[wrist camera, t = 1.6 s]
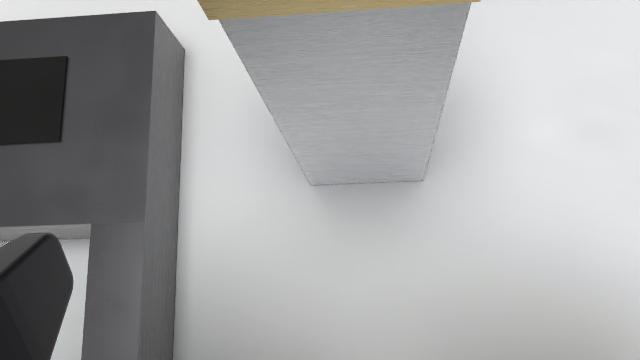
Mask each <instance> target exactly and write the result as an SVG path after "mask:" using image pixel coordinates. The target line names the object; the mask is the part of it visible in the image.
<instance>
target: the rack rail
mask: <svg viewBox="0 0 640 360" xmlns="http://www.w3.org/2000/svg"><path fill="white" fill-rule="evenodd" d="M184 50H185V49H184V48H183V47H182V45H181V44H180V43H179V41H178V40H177V39H176V37H175V36H174V35H173V33H172V32H171V31H170V29H169V28H168V27H167V25H166V24H165V23H164V21H163V20H162V19H161V17H160V16H159V15H158V13H157V12H156V11H146V12H132V13H118V14H104V15H90V16H75V17H61V18H47V19H33V20H19V21H5V22H0V241H13V240H15V239H16V238H18V237H20V236H22V235H24V234H28V233H52V234H54V235H55V236H56V237H57V238H58V239H76V238H90V247H89V261H88V275H87V289H86V303H85V317H84V330H83V344H82V358H81V360H173V334H174V309H175V283H176V257H177V231H178V205H179V179H180V154H181V128H182V102H183V76H184Z"/></svg>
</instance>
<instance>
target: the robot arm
mask: <svg viewBox="0 0 640 360" xmlns="http://www.w3.org/2000/svg"><path fill="white" fill-rule="evenodd" d="M72 290H73V275H72V272H71V269H70V267H69V264H68V262H67V259H66V257H65V254H64V252H63V249H62V247H61V244H60V242H59V240H58V238H57V237H56V236H55V235H54V234H52V233H28V234H24V235H22V236H20V237H18V238H16V239H15V240H13V241H11V242H9V243H8V244H6V245H4V246H2V247H0V360H50V359H51V356H52V352H53V349H54V346H55V343H56V340H57V337H58V334H59V331H60V328H61V324H62V321H63V318H64V315H65V312H66V309H67V306H68V303H69V300H70V297H71V293H72Z"/></svg>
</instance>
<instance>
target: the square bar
mask: <svg viewBox="0 0 640 360" xmlns="http://www.w3.org/2000/svg"><path fill="white" fill-rule="evenodd" d="M197 1H198V2H199V4H200V6H201V7H202V9H203V11H204V13H205V14H206V16H207V18H208V19H209V20H217V19H218V20H219V22H220V23H221V25H222V27H223V29H224V31H225V32H226V34H227V36H228V38H229V40H230V41H231V43H232V45H233V47H234V48H235V50H236V52H237V54H238V56H239V57H240V59H241V61H242V63H243V65H244V66H245V68H246V70H247V72H248V74H249V75H250V77H251V79H252V81H253V83H254V84H255V86H256V88H257V90H258V92H259V93H260V95H261V97H262V99H263V101H264V102H265V104H266V106H267V108H268V110H269V111H270V113H271V115H272V117H273V119H274V120H275V122H276V124H277V126H278V128H279V129H280V131H281V133H282V135H283V137H284V138H285V140H286V142H287V144H288V146H289V147H290V149H291V151H292V153H293V155H294V156H295V158H296V160H297V162H298V164H299V165H300V167H301V169H302V171H303V172H304V174H305V176H306V178H307V180H308V181H309V183H310V185H325V184H350V183H376V182H401V181H423V180H424V176H425V172H426V168H427V165H428V161H429V157H430V154H431V150H432V146H433V143H434V139H435V135H436V131H437V128H438V124H439V120H440V117H441V113H442V109H443V105H444V102H445V98H446V94H447V91H448V87H449V83H450V80H451V76H452V72H453V68H454V65H455V61H456V57H457V54H458V50H459V46H460V42H461V39H462V35H463V31H464V28H465V24H466V20H467V17H468V13H469V9H470V5H471V2H480V1H481V0H197Z"/></svg>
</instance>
